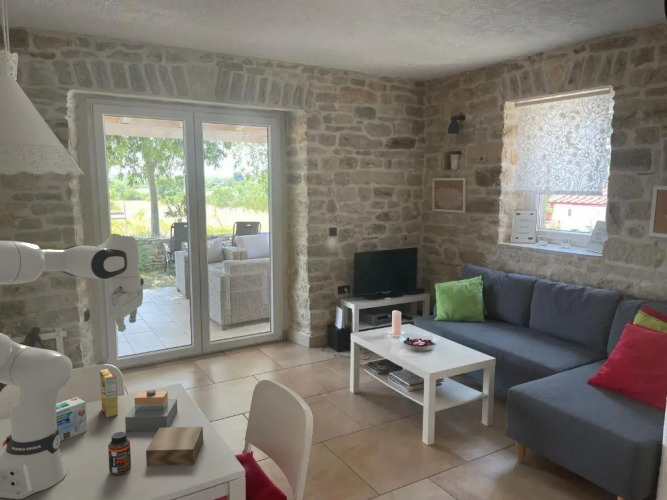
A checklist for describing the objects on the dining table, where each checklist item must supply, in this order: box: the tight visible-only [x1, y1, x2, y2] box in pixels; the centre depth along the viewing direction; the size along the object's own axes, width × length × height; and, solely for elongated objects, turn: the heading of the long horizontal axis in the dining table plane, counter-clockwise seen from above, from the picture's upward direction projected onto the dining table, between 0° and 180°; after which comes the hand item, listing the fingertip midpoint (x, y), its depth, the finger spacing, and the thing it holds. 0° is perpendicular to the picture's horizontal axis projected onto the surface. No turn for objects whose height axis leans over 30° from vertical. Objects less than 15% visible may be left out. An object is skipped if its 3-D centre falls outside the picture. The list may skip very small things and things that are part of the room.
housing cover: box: [134, 389, 169, 405], centre depth 174 cm, size 10×5×4 cm, turn 93°
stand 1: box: [124, 398, 178, 432], centre depth 175 cm, size 14×14×5 cm
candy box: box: [99, 368, 119, 418], centre depth 181 cm, size 9×4×15 cm, turn 37°
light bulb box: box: [56, 396, 88, 442], centre depth 165 cm, size 11×7×11 cm, turn 143°
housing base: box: [134, 397, 169, 411], centre depth 174 cm, size 10×5×2 cm, turn 93°
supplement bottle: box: [107, 431, 132, 476], centre depth 144 cm, size 6×6×11 cm
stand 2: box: [145, 426, 204, 467], centre depth 154 cm, size 14×14×5 cm
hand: (127, 326), depth 156 cm, fingers open, 8 cm apart
